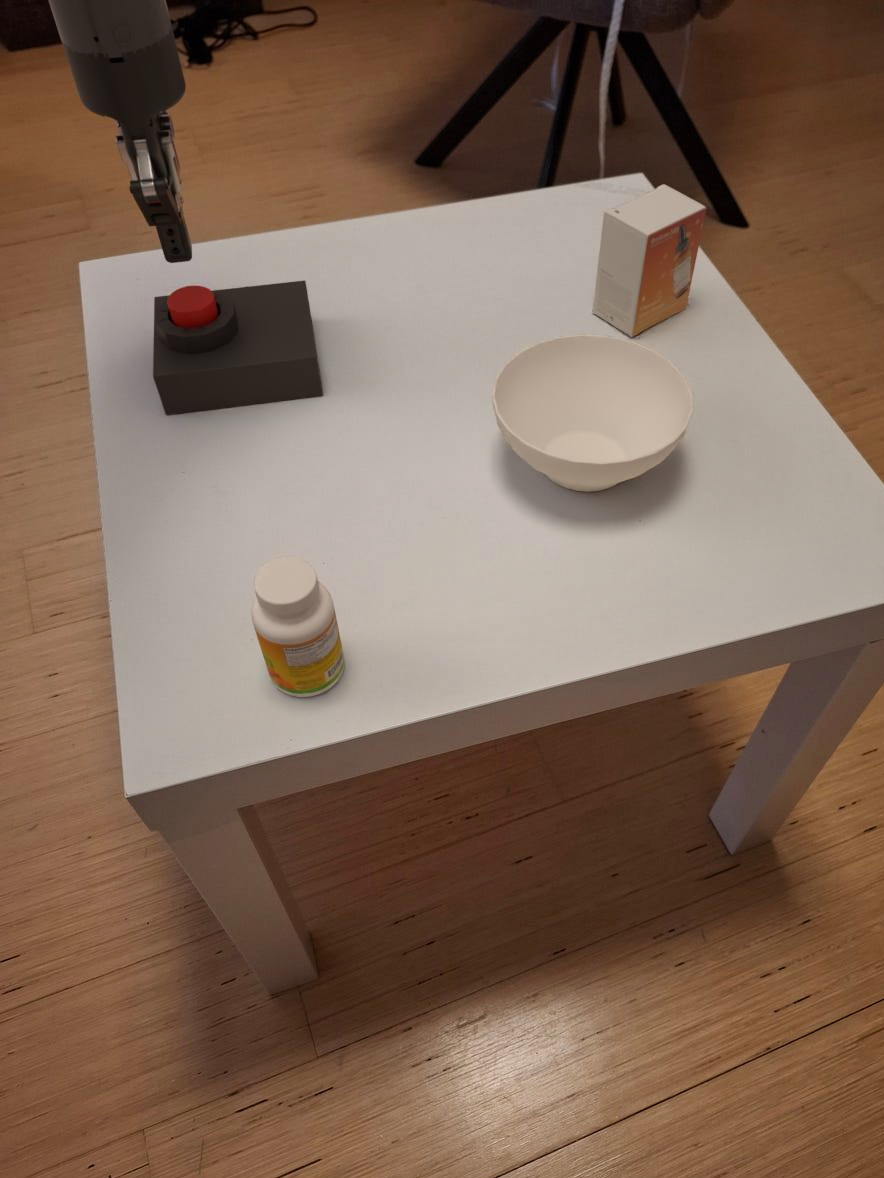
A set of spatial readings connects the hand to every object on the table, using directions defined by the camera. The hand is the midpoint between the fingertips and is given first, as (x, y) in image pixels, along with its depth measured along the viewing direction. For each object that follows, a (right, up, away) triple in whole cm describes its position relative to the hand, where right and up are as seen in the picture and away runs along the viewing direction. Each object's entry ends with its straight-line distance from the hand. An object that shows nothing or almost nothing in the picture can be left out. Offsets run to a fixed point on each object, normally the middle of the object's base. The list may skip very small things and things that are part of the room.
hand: (179, 257), depth 79 cm
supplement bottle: (+13, -34, -11) cm, 38 cm away
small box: (+41, 0, +15) cm, 43 cm away
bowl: (+34, -17, +1) cm, 38 cm away
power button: (0, -3, +4) cm, 6 cm away
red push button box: (+3, -6, +9) cm, 12 cm away
